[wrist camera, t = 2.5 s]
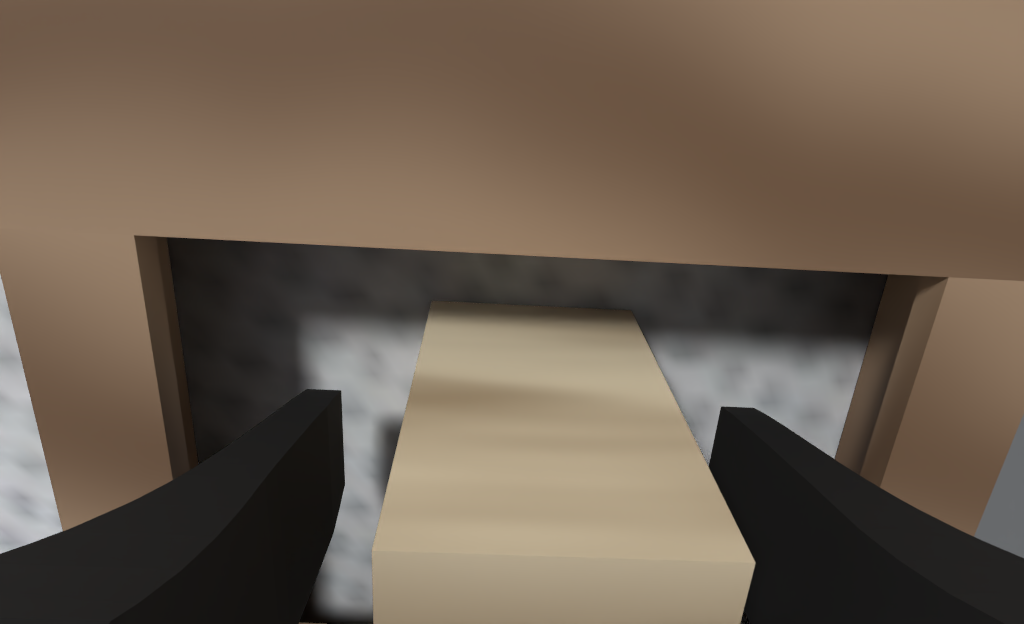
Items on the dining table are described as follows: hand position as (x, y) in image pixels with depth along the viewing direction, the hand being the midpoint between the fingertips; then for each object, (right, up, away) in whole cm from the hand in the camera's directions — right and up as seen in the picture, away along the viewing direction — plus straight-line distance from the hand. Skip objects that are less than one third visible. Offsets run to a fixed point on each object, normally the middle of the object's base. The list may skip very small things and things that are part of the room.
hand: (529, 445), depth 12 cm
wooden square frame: (0, +1, +2) cm, 2 cm away
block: (0, +1, +2) cm, 2 cm away
